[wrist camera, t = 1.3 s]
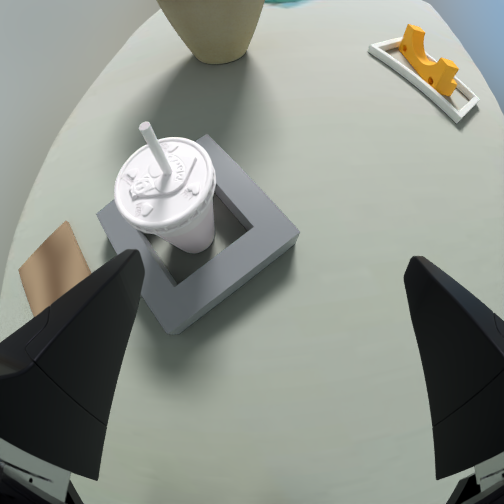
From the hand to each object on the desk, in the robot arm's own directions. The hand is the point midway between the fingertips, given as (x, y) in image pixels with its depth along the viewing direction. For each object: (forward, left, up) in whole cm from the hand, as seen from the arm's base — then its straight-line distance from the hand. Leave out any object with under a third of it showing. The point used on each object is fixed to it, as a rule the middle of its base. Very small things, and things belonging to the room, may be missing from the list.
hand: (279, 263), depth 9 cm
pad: (-16, +15, -15) cm, 26 cm away
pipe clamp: (+44, +11, -15) cm, 48 cm away
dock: (-1, +9, -15) cm, 17 cm away
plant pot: (+17, +31, -15) cm, 38 cm away
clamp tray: (+43, +10, -15) cm, 47 cm away
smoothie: (-1, +9, -15) cm, 17 cm away
